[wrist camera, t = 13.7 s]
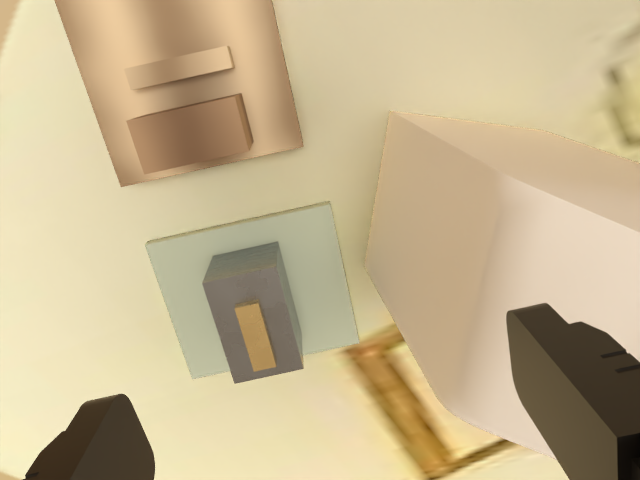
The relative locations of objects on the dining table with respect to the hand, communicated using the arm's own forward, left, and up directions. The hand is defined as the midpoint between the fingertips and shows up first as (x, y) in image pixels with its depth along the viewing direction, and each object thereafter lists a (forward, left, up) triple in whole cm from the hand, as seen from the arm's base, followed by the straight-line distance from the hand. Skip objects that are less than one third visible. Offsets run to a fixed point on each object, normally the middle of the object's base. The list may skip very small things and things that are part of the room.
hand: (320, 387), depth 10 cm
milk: (-11, +6, -27) cm, 30 cm away
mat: (+5, +10, -27) cm, 29 cm away
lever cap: (+5, +10, -26) cm, 28 cm away
